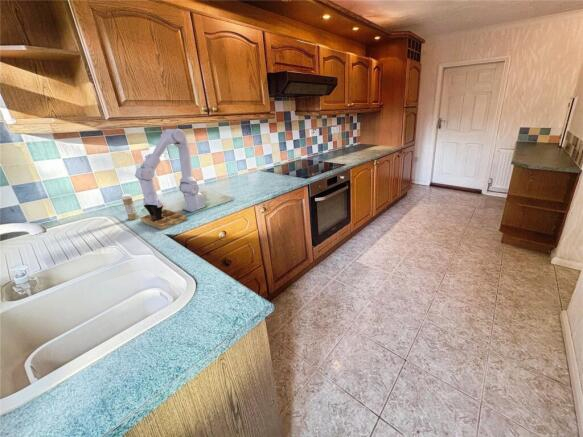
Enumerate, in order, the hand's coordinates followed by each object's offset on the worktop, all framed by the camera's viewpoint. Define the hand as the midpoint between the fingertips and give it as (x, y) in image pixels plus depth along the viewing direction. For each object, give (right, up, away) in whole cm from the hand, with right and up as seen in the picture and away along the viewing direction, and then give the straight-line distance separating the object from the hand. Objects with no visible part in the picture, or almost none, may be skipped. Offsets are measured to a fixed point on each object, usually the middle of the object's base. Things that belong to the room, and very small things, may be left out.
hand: (156, 218), depth 131 cm
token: (0, -1, 0) cm, 1 cm away
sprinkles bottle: (-17, 0, +9) cm, 20 cm away
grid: (+2, -2, +3) cm, 4 cm away
